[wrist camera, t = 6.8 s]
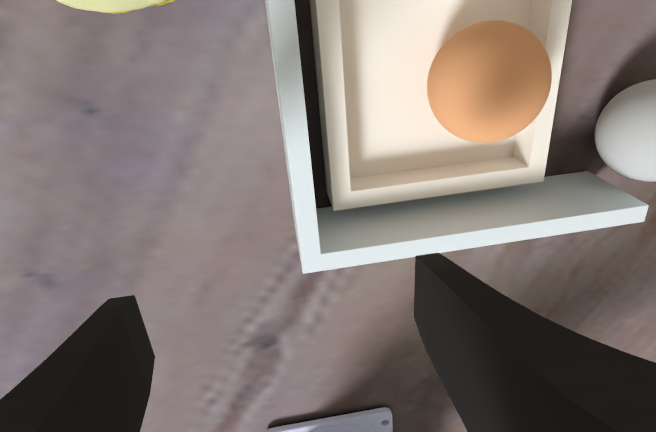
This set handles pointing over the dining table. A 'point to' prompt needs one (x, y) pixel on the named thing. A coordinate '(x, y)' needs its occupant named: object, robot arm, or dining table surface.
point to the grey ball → (630, 132)
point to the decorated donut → (112, 4)
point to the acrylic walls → (427, 213)
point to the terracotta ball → (489, 81)
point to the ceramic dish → (416, 99)
